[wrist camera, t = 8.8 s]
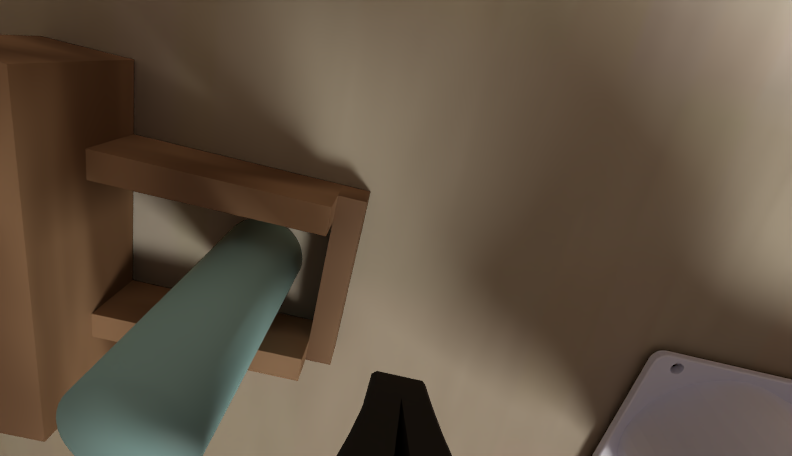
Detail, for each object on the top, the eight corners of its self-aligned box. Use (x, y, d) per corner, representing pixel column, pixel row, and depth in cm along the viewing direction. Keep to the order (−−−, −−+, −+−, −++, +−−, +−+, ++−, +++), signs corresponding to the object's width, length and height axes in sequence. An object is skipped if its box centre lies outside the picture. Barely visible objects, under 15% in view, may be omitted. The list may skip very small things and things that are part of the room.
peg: (305, 225, 16) (202, 392, 8) (298, 293, 17) (202, 496, 10) (225, 211, 16) (46, 365, 8) (224, 280, 17) (65, 474, 9)
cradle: (386, 123, 15) (374, 154, 10) (324, 390, 19) (298, 492, 15) (40, 36, 14) (-132, 29, 10) (61, 333, 19) (-49, 422, 14)
